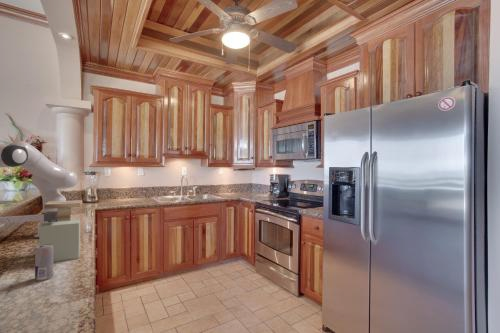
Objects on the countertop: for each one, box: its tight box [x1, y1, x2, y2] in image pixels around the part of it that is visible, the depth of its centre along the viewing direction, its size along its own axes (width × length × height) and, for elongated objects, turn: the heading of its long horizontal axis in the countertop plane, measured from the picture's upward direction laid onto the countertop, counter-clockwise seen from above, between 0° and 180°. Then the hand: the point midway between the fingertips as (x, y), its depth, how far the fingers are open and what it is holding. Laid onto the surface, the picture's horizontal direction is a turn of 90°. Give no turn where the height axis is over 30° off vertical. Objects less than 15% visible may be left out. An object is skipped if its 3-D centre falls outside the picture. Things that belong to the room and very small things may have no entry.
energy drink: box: [34, 244, 54, 282], centre depth 96 cm, size 5×5×12 cm
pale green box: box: [38, 219, 81, 263], centre depth 116 cm, size 8×14×16 cm, turn 120°
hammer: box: [0, 211, 58, 225], centre depth 110 cm, size 7×22×3 cm, turn 120°
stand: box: [44, 199, 83, 252], centre depth 126 cm, size 10×14×24 cm
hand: (8, 218), depth 107 cm, fingers closed on hammer, 2 cm apart
